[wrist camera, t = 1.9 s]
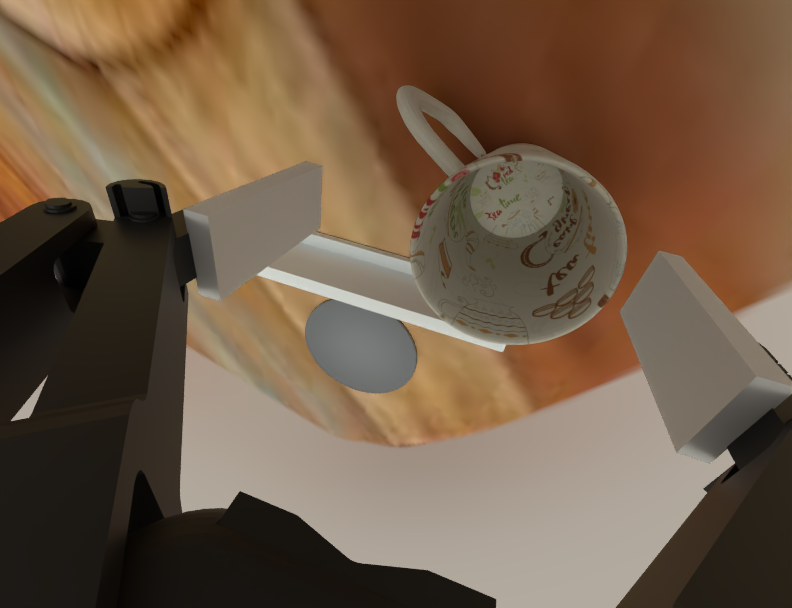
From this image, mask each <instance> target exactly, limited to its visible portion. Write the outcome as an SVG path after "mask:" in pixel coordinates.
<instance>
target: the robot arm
mask: <svg viewBox="0 0 792 608" xmlns="http://www.w3.org/2000/svg"><path fill="white" fill-rule="evenodd" d="M322 167H323V166H322V165H318V164H314V163H310V162H306V161H305V162H303V163H300V164H298V165H295V166H293V167H290V168H287V169H285V170H282V171H280V172H277V173H274V174H272V175H269V176H267V177H264V178H262V179H259V180H256V181H254V182H251V183H249V184H246V185H243V186H241V187H238V188H236V189H233V190H230V191H228V192H225V193H223V194H220V195H218V196H215V197H212V198H210V199H207V200H205V201H202V202H199V203H197V204H194V205H192V206H189V207H187V208H184V209H183V210H180V211H178V212H175V213H173V214H171V209H170V205H169V200H168V195H167V190H166V187H165V185H164V184H162V183H160V182H156V181H152V180H142V179H132V180H122V181H117V182H114V183H110V184H109V185H107V186H106V190H107V193H108V197H109V200H110V203H111V207H112V210H113V213H114V216H115V219H114V221H107V220H98V219H95V216H94V213H93V210H92V207H91V205H90V203H88V202H85V201H83V200H76V199H66V198H51V199H48V200H46V201H42V202H38V203H35V204H33V205H30V206H29V207H27V208H25V209H23V210H22V211H20V212H18V213H16V214H15V215H13V216H11V217H9V218H8V219H6V220H4V221H2V222H1V223H0V608H496V599H494V598H492V597H490V596H487V595H485V594H483V593H480V592H478V591H476V590H473V589H471V588H468V587H466V586H464V585H461V584H459V583H457V582H454V581H452V580H449V579H447V578H445V577H442V576H440V575H437V574H435V573H432V572H430V571H428V570H419V569H409V568H400V567H391V566H381V565H371V564H362V563H357V562H354V561H352V560H350V559H349V558H347V557H346V556H345V555H344V554H342V553H341V552H340V551H339V550H338V549H336V548H335V547H334V546H333V545H332V544H331V543H329V542H328V541H327V540H326V539H324V538H323V537H322V536H321V535H320V534H319V533H318V532H316V531H315V530H314V529H313V528H312V527H310V526H309V525H308V524H307V523H306V522H304V521H303V520H302V519H301V518H300V517H299V516H297V515H295V514H293V513H290V512H288V511H286V510H283V509H281V508H279V507H276V506H273V505H271V504H269V503H267V502H264V501H262V500H259V499H257V498H255V497H252V496H250V495H248V494H245V493H243V492H241V491H240V492H239V493H238V495H237V496H236V497H235V499H234V500H233V502H232V503H231V505H230V506H229V508H228V509H224V508H215V509H201V510H195V511H188V512H184V513H182V508H181V501H180V470H181V445H182V423H183V402H184V379H185V357H186V335H187V313H188V290H187V285H186V283H188V282H190V281H191V280H193V279H195V278H196V281H197V286H198V291H199V294H200V295H203V296H206V297H209V298H212V299H215V300H218V301H222V300H223V299H225V298H226V297H227V296H229V295H230V294H231V293H233V292H234V291H235V290H237V289H238V288H239V287H241V286H242V285H243V284H245V283H246V282H247V281H249V280H250V279H252V278H253V277H254V276H256V275H257V274H258V273H260V272H261V271H262V270H264V269H265V268H266V267H268V266H269V265H270V264H272V263H273V262H275V261H276V260H277V259H279V258H280V257H281V256H283V255H284V254H285V253H287V252H288V251H289V250H291V249H292V248H293V247H295V246H296V245H298V244H299V243H300V242H302V241H303V240H304V239H306V238H307V237H308V236H310V235H311V234H312V233H314V232H315V231H316V230H318V229H319V228H320V219H321V193H322ZM55 276H56V278H57V279H56V278H55ZM620 315H621V317H622V320H623V322H624V325H625V327H626V329H627V332H628V334H629V337H630V339H631V342H632V344H633V347H634V349H635V352H636V354H637V357H638V359H639V361H640V364H641V366H642V369H643V371H644V374H645V376H646V379H647V381H648V384H649V386H650V388H651V391H652V393H653V396H654V398H655V401H656V403H657V406H658V408H659V411H660V413H661V416H662V418H663V420H664V423H665V425H666V427H667V430H668V433H669V435H670V438H671V440H672V442H673V445H674V447H675V450H676V452H677V453H679V454H682V455H685V456H688V457H691V458H694V459H697V460H700V461H703V462H706V463H709V464H710V463H711V462H712V461H713V460H715V459H716V458H717V457H718V456H719V455H721V454H722V453H723V452H724V451H725V450H726V449H728V450H729V452H730V454H731V456H732V458H733V460H734V461H735V464H734V465H732V466H731V467H730V468H729V469H727V470H726V471H725V472H724V473H723V474H721V475H720V476H719V477H717V478H716V479H715V480H714V481H712V482H711V483H710V484H709V485H707V486H706V487H705V488H704V490H705V491H706V492H707V494H706V495H705V497H704V498H703V499H702V500H701V502H700V503H699V504H698V505H697V507H696V508H695V509H694V510H693V512H692V513H691V514H690V516H689V517H688V518H687V519H686V520H685V522H684V523H683V524H682V525H681V527H680V528H679V529H678V530H677V532H676V533H675V534H674V535H673V537H672V538H671V539H670V540H669V542H668V543H667V544H666V545H665V547H664V548H663V549H662V550H661V552H660V553H659V554H658V555H657V557H656V558H655V559H654V561H653V562H652V563H651V564H650V565H649V567H648V568H647V569H646V571H645V572H644V573H643V574H642V576H641V577H640V578H639V579H638V580H637V582H636V583H635V584H634V586H633V587H632V588H631V589H630V591H629V592H628V593H627V594H626V595H625V597H624V598H623V599H622V600H621V602H620V603H619V604H618V606H617V607H616V608H792V377H791V376H790V375H787V373H788V372H787V371H786V370H785V369H784V368H783V367H782V366H781V365H780V364H777V363H778V361H777V360H776V359H775V358H774V357H773V355H771V353H770V352H769V351H768V350H767V349H766V348H765V347H763V346H762V345H761V344H759V343H758V342H757V341H756V340H755V339H754V338H753V337H752V335H751V334H750V333H749V332H748V331H747V330H746V329H745V328H744V326H743V325H742V324H741V323H740V322H739V321H738V320H737V318H736V317H735V316H734V315H733V314H732V313H731V312H730V310H729V309H728V308H727V307H726V306H725V305H724V304H723V302H722V301H721V300H720V299H719V298H718V297H717V296H716V295H715V293H714V292H713V291H712V290H711V289H710V288H709V287H708V285H707V284H706V283H705V282H704V281H703V280H702V279H701V278H700V276H699V275H698V274H697V273H696V272H695V271H694V270H693V268H692V267H691V266H690V265H689V264H688V263H687V262H686V261H685V259H684V258H683V257H682V256H679V255H675V254H671V253H667V252H663V251H658V253H657V254H656V256H655V257H654V259H653V260H652V262H651V264H650V265H649V267H648V268H647V270H646V271H645V273H644V274H643V276H642V278H641V279H640V281H639V282H638V284H637V285H636V287H635V288H634V290H633V292H632V293H631V295H630V296H629V298H628V299H627V301H626V303H625V304H624V306H623V307H622V309H621V310H620ZM47 375H48V377H47ZM46 377H47V379H46V382H45V384H44V386H43V389H42V391H41V393H40V396H39V398H38V401H37V403H36V405H35V407H34V410H33V412H32V414H31V416H30V417H29V418H26V419H21V420H16V421H11V419H12V418H13V417H14V416H15V415H16V414H17V412H18V411H19V410H20V409H21V407H22V406H23V404H25V402H26V401H27V400H28V399H29V398H30V396H31V395H32V394H33V393H34V391H35V390H36V389H37V387H39V385H40V384H41V383H42V381H43V380H44V379H45V378H46Z"/></svg>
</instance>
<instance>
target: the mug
mask: <svg viewBox="0 0 792 608" xmlns="http://www.w3.org/2000/svg"><path fill="white" fill-rule="evenodd" d="M396 99H397V106H398V109H399V112H400V114H401V117H402V119H403V121H404V122H405V124H406V126H407V128H408V129H409V131H410V132H411V134H412V135H413V136H414V138H415V139H416V141H417V142H418V143H419V144H420V145H421V146H422V148H423V149H424V150H425V151H426V152H427V153H428V154H429V156H430V157H431V158H432V159H433V160H434V161H435V162H436V163H437V164H438V165H439V167H440V168H441V169H442V170H443V171H444V172H445V173H446V174H447V175H448V176H449V178H447V179H446V180H445V181H444V182H443V183H442V184H441V185H440V186H439V187H438V188H437V189H436V190H435V191H434V192H433V193H432V195H431V196H430V197H429V198H428V200H427V201H426V203H425V204H424V206H423V208H422V209H421V211H420V213H419V215H418V217H417V220H416V222H415V225H414V229H413V232H412V237H411V244H410V263H411V269H412V273H413V277H414V280H415V283H416V285H417V287H418V290H419V292H420V293H421V295H422V297H423V298H424V300H425V301H426V303H427V304H428V306H429V307H430V308H431V309H432V310H433V311H434V312H435V313H436V314H437V315H438V316H439V317H440V318H441V319H442V320H443V321H445V322H446V323H447V324H449V325H450V326H452V327H453V328H455V329H457V330H458V331H460V332H462V333H464V334H466V335H469V336H471V337H474V338H476V339H480V340H483V341H487V342H492V343H497V344H507V345H524V344H533V343H539V342H544V341H548V340H551V339H554V338H557V337H560V336H562V335H565V334H567V333H569V332H571V331H573V330H575V329H577V328H578V327H580V326H581V325H583V324H585V323H586V322H587V321H589V320H590V319H591V318H592V317H594V316H595V315H596V314H597V313H598V312H599V311H600V310H601V309H602V308H603V307H604V306H605V304H606V303H607V302H608V301H609V299H610V298H611V296H612V295H613V294H614V292H615V290H616V288H617V286H618V284H619V282H620V280H621V277H622V275H623V271H624V268H625V263H626V257H627V236H626V229H625V225H624V222H623V218H622V216H621V213H620V211H619V209H618V207H617V205H616V203H615V202H614V200H613V198H612V197H611V195H610V194H609V193H608V191H607V190H606V189H605V188H604V187H603V186H602V185H601V184H600V183H599V182H598V180H596V179H595V178H594V177H593V176H592V175H590V174H589V173H588V172H587V171H585V170H584V169H582V168H581V167H579V166H578V165H576V164H574V163H572V162H570V161H568V160H566V159H564V158H562V157H560V156H558V155H557V154H555V153H553V152H551V151H549V150H547V149H545V148H542V147H540V146H537V145H533V144H525V143H518V144H511V145H507V146H504V147H501V148H498V149H496V150H494V151H492V152H490V153H489V154H486V152H485V150H484V149H483V147H482V146H481V144H480V143H479V141H478V140H477V139H476V137H475V136H474V135H473V134H472V132H471V131H470V130H469V128H468V127H467V126H466V125H465V123H464V122H463V121H462V120H461V118H460V117H459V116H458V115H457V114H456V113H455V112H454V111H453V110H452V109H450V108H449V107H447V106H446V105H445V104H443V103H442V102H440V101H439V100H437V99H435V98H434V97H432V96H430V95H429V94H427V93H425V92H424V91H422V90H420V89H418V88H416V87H414V86H411V85H404V86H402V87H400V88H399V90H398V92H397V95H396ZM422 111H423V112H425V113H427V114H428V115H430V116H432V117H434V118H435V119H437V120H438V121H440V122H441V123H442V124H443V125H444V126H445V127H446V128H447V129H448V130H449V131H450V132H451V133H453V134H454V135H455V136H456V137H457V138H458V139H459V140H460V141H461V142H462V143H463V144H464V145H465V146H466V147H467V148H468V149H469V150H470V151H471V152H472V153H473V154H474V155H475V156H476V157H477V158H479V159H477V160H475V161H473V162H471V163H470V164H468V165H466V166H465V165H464V164H463V163H462V162H461V161H460V160H459V159H458V158H457V157H456V156H455V154H454V153H453V152H452V151H451V150H450V149H449V148H448V147H447V146H446V145H445V143H444V142H443V141H442V140H441V139H440V138H439V137H438V135H437V134H436V133H435V132H434V131H433V129H432V128H431V127H430V125H429V124H428V123H427V121H426V119H425V117H424V116H423V113H422Z"/></svg>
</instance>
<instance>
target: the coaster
mask: <svg viewBox="0 0 792 608" xmlns="http://www.w3.org/2000/svg"><path fill="white" fill-rule="evenodd" d="M305 338H306V342H307V346H308V348H309V351H310V353H311V355H312V356H313V358H314V360H315V361H316V362H317V364H318V365H319V366H320V367H321V368H322V369H323V370H324V371H325V372H326V373H327V374H328V375H329V376H331V377H332V378H333V379H335V380H336V381H338V382H340V383H341V384H343V385H345V386H347V387H350V388H352V389H355V390H358V391H362V392H367V393H387V392H391V391H394V390H397V389H399V388H400V387H402V386H403V385H405V384H406V383H407V382H408V381H409V380H410V378H411V377H412V375H413V373H414V370H415V367H416V363H417V352H416V347H415V344H414V341H413V339H412V337H411V335H410V333H409V332H408V330H407V328H406V327H405V326H404V325H403V324H402V322H401V321H400V320H398V319H395V318H392V317H388V316H385V315H382V314H379V313H376V312H372V311H369V310H366V309H363V308H360V307H357V306H353V305H350V304H347V303H344V302H341V301H338V300H334V299H330V300H327V301H325V302H323V303H322V304H320V305H319V306H318V307H317V308H316V309H314V311H313V312H312V313H311V315H310V316H309V318H308V320H307V323H306V327H305Z"/></svg>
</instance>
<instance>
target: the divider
mask: <svg viewBox="0 0 792 608" xmlns="http://www.w3.org/2000/svg"><path fill="white" fill-rule="evenodd" d="M257 275H258V276H261V277H264V278H268V279H271V280H274V281H277V282H280V283H283V284H287V285H290V286H293V287H296V288H299V289H303V290H306V291H309V292H312V293H315V294H318V295H322V296H325V297H328V298H331V299H334V300H338V301H341V302H344V303H347V304H350V305H353V306H357V307H360V308H363V309H366V310H369V311H372V312H376V313H379V314H382V315H385V316H388V317H392V318H395V319H398V320H401V321H404V322H407V323H411V324H414V325H417V326H420V327H423V328H426V329H430V330H433V331H436V332H439V333H442V334H446V335H449V336H452V337H455V338H458V339H461V340H465V341H468V342H471V343H474V344H477V345H480V346H484V347H487V348H490V349H493V350H496V351H500V352H503V350H504V348H505V346H506V344H497V343H492V342H487V341H483V340H480V339H476V338H474V337H471V336H469V335H466V334H464V333H462V332H460V331H458V330H457V329H455V328H453V327H452V326H450V325H449V324H447V323H446V322H445V321H443V320H442V319H441V318H440V317H439V316H438V315H437V314H436V313H435V312H434V311H433V310H432V309H431V308H430V307H429V306H428V304H427V303H426V301H425V300H424V298H423V297H422V295H421V293H420V292H419V290H418V287H417V285H416V283H415V280H414V277H413V273H412V269H411V263H410V258H407V257H403V256H400V255H396V254H393V253H389V252H386V251H382V250H379V249H375V248H372V247H368V246H365V245H361V244H358V243H354V242H351V241H347V240H344V239H340V238H337V237H333V236H330V235H326V234H323V233H319V232H316V231H315V232H314V233H312V234H311V235H310V236H308V237H307V238H306V239H304V240H303V241H302V242H300V243H299V244H298V245H296V246H295V247H293V248H292V249H291V250H289V251H288V252H287V253H285V254H284V255H283V256H281V257H280V258H279V259H277V260H276V261H275V262H273V263H272V264H270V265H269V266H268V267H266V268H265V269H264V270H262V271H261V272H260V273H258V274H257Z"/></svg>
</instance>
